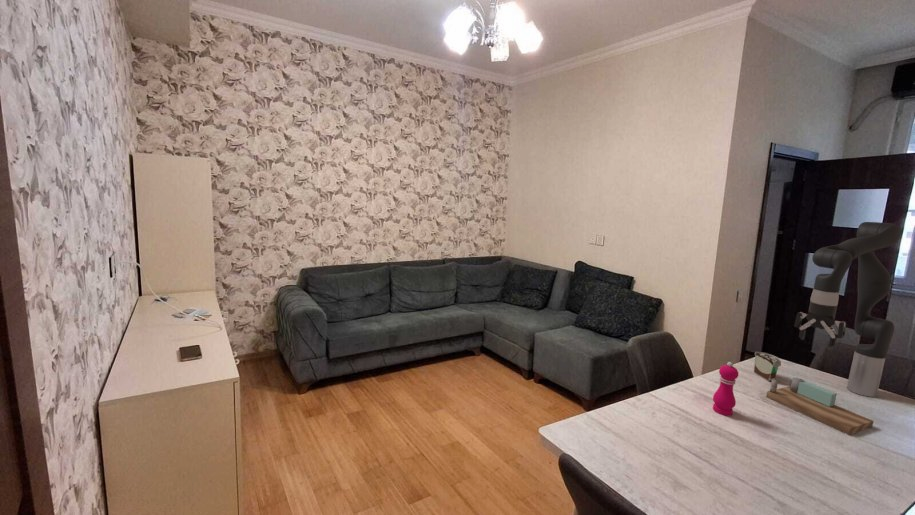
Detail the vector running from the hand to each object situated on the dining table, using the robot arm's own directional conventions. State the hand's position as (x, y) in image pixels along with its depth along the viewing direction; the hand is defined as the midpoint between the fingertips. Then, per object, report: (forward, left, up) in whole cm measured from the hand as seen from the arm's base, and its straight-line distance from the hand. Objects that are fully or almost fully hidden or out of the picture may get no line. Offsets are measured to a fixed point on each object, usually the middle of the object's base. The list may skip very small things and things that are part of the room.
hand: (816, 343), depth 151 cm
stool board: (-3, +3, -27) cm, 28 cm away
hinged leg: (-7, -2, -24) cm, 26 cm away
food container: (-16, -23, -28) cm, 39 cm away
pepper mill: (+34, -9, -28) cm, 44 cm away
